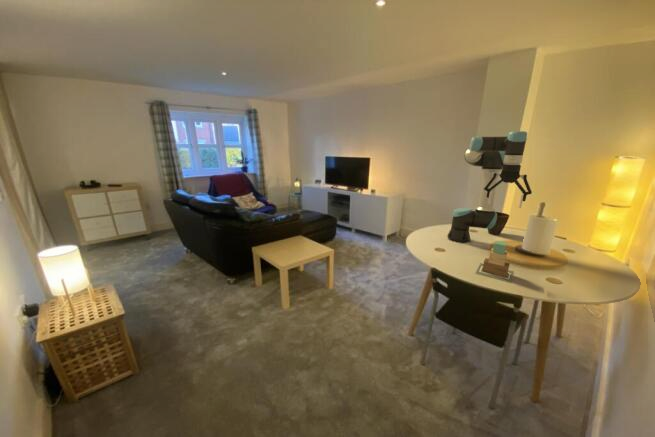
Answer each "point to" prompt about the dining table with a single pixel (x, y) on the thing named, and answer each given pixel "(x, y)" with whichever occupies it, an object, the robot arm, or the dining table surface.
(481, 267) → the grey flat square plate
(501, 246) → the teal cube
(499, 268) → the walnut foundation
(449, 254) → the dining table surface
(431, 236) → the dining table surface
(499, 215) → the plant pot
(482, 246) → the dining table surface
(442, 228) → the dining table surface
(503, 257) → the oak block
